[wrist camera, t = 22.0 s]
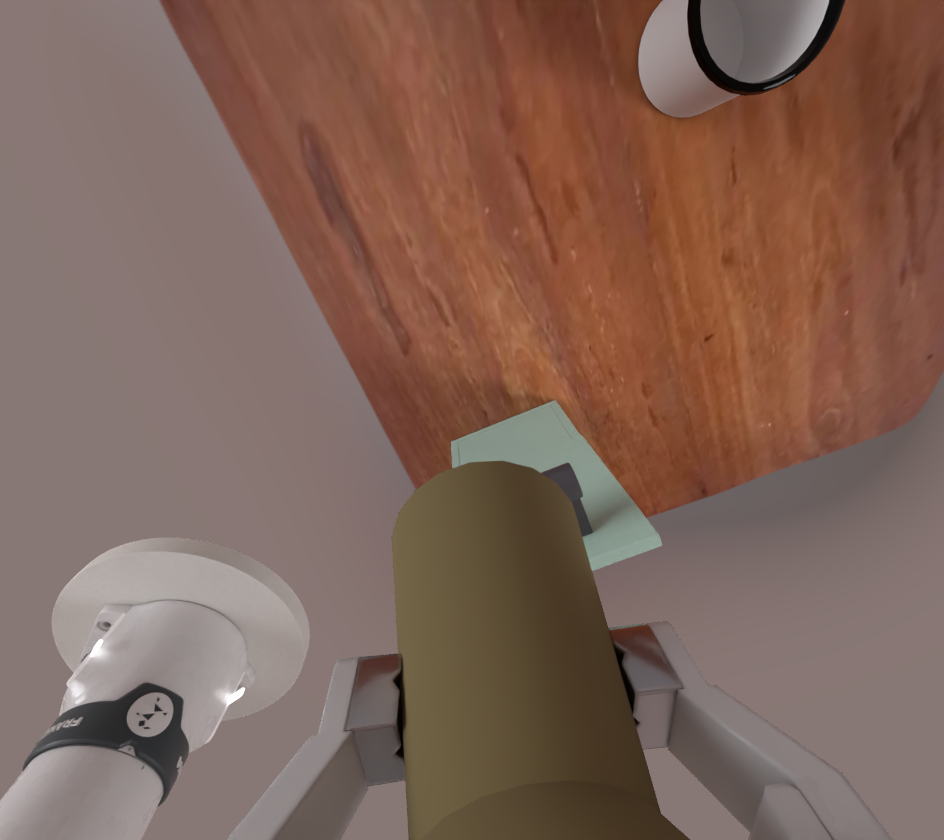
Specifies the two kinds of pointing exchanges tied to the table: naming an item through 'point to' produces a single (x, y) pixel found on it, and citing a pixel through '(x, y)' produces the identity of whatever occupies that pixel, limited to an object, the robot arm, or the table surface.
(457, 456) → the light green open box
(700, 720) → the robot arm
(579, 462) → the lid
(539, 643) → the brown pawn
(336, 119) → the table surface
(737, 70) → the mug
